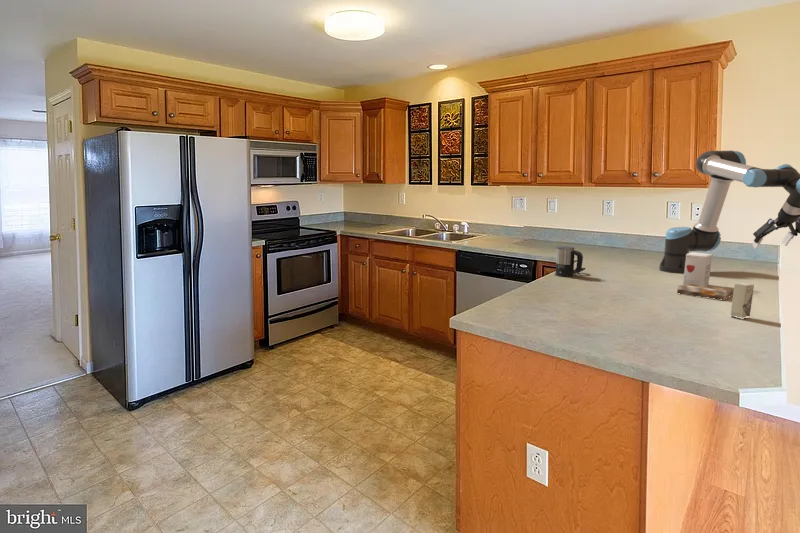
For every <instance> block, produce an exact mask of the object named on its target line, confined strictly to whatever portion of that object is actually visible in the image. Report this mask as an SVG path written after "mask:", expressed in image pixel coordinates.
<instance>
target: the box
mask: <svg viewBox="0 0 800 533" xmlns="http://www.w3.org/2000/svg"><path fill="white" fill-rule="evenodd" d="M754 288H755V284H752V283H747V282H744V281H742V282H736V283H734V285H733V290H734V292H733V295H732V301H731V302H732V303H731V309H730V315H732V316H737V317H742V318H743V317H746V316H750V317H751V309H752V302H753V296H754Z"/></svg>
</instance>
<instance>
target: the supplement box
mask: <svg viewBox="0 0 800 533" xmlns="http://www.w3.org/2000/svg"><path fill="white" fill-rule="evenodd" d="M712 259H713V254H712V253H704V252H703V253H702V252H697V251H690V252H689V253H688V254H686V262H685V270H684V273H683V279H682V280H683V281H682V285H686V284H696V285H703V286H709V283H710V276H711V274H710V273H711V267H712V262H713V260H712Z"/></svg>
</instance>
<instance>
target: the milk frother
mask: <svg viewBox="0 0 800 533" xmlns="http://www.w3.org/2000/svg"><path fill="white" fill-rule="evenodd" d="M575 256H576V258H577V259H576V267H575ZM555 258H556V260H555V273H554V275H556V276H557V277H565V278H566V277H568V278H569V277H573V276H574V274H578V273H581V272H583V271H585V270H586V267H583V261H584V260H583V259H584V256H583V253H582V252H581V251H579V250H575V247H574V246H570V245H569V246H568V245H560V246H556V256H555Z"/></svg>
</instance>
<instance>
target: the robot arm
mask: <svg viewBox="0 0 800 533" xmlns="http://www.w3.org/2000/svg"><path fill="white" fill-rule="evenodd" d="M695 167H696V168H695V169H696V170H697V171H698V172H699V173H700V174H703V175H706V176H709V178H710V182H709V187H708V189H707V192H706V195H705V200H704V203H703V204H702V209H701V212H700V216H699V218H698V221H697V222H696V223H694V224H693V226H692V228H691V227H688V226H677V227H670V228H668V229H667V230H666V232H665V237H664V238H665V242H664V251H663V252H664V253H663V257H662V259H661V261H660V264H659V267H658V269H659V271H662V272H667V273H674V274H675V273H676V274H684V270H685V262H686V254H688V253H690V252H711V251H713V250H716V249H717V248H718V246H719V245H720V244H721V241H722V240H721V239H722V237H721V232H720V231H719V227H718V226H717V225H718V222H719V220H720V216H721V213H722V210H723V206H724V204H725V201H726V197H727V195H728V193H729V189H730V186H731V183H732V182H734V181H736V182H740V183H743V184H744V185H745V186H746V187H749V188H783V189H784V190H785V191H786V192H787V193H788V194H789V195H788V196H787V198H786V200H785V202H784V203H783V205H782V207H781V208H780V209H779V211H778V213H777V217H776V218H775V219H772V217H771V218H769V219H768V220H767V221H766V222H765V223H764V224H763V225H761V227H759V228H757V230H756V231H754V232H753V234H752V235H753V236H754V237H755V238H754V239H753V242H752V244H751V246H752V247H753V248H754V250H758V248H759V246H760V245H761V243H762V241H763V240H764V237H766V236H768V235H769V234H771V233H772V232H774V231H777V230H779V229H782V228H785V229H786V228H787V227H788V229H789V230H790V231H789V230H788V231H787V233H786V234H785V236H784V237H783V238H782V241H781V243H782V244H783V245H784V246H785V247H787V246H788V245H789V244H790V241H792V240H793V239H794V237H797V236H798V235H799V234H800V172H799V171H798V170H797V169H796V168H794V167H793V166H792V165H791V164H787V163H784V164H782V165H778V166H777V167H775V168H771V169H769V168H761V167H756V166H752V165H748V164H747V160H746V156H745V155H744V154H743V153H742V152H740V151H738V150H707V151H705V152H703V153H701V154H700V155H698V157H697V159H696V160H695ZM794 223H795V225H794V226H795V227H794V226H793V224H794Z"/></svg>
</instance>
